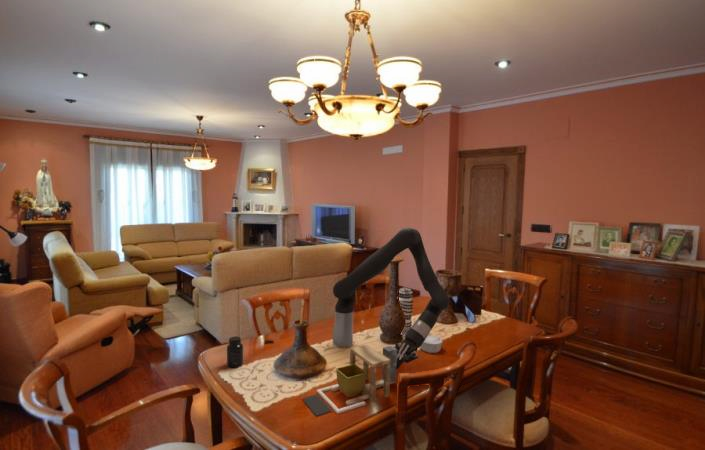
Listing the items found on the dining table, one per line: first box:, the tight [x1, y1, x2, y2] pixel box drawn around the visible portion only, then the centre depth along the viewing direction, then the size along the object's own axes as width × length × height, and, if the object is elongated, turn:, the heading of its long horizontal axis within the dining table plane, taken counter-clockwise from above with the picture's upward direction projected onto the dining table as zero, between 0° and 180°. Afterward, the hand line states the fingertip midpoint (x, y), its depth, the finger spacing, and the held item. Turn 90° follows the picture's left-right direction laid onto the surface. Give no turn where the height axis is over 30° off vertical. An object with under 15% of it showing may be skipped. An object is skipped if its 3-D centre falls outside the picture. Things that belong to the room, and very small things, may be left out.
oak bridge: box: [349, 344, 391, 403], centre depth 145 cm, size 8×16×14 cm, turn 31°
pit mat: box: [301, 393, 333, 417], centre depth 134 cm, size 6×12×1 cm, turn 31°
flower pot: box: [335, 364, 367, 398], centre depth 142 cm, size 9×9×9 cm
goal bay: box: [316, 383, 366, 415], centre depth 139 cm, size 12×16×1 cm
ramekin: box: [420, 334, 443, 354], centre depth 185 cm, size 11×11×5 cm
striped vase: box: [399, 287, 414, 337], centre depth 204 cm, size 9×9×25 cm
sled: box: [331, 345, 397, 406], centre depth 145 cm, size 25×12×14 cm, turn 121°
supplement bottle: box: [226, 336, 244, 369], centre depth 163 cm, size 7×7×12 cm
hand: (394, 368), depth 152 cm, fingers closed
